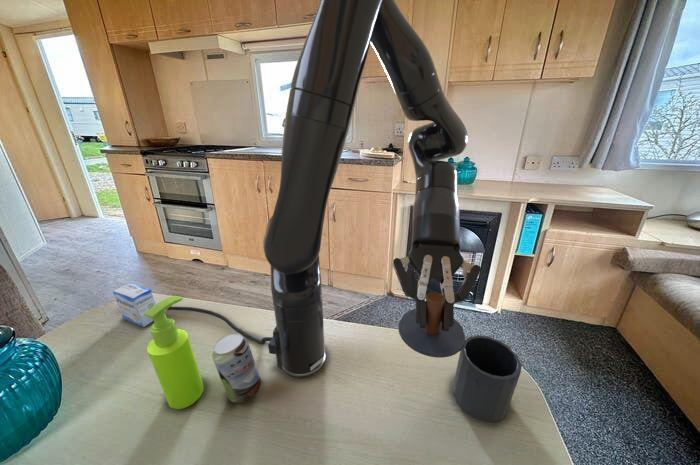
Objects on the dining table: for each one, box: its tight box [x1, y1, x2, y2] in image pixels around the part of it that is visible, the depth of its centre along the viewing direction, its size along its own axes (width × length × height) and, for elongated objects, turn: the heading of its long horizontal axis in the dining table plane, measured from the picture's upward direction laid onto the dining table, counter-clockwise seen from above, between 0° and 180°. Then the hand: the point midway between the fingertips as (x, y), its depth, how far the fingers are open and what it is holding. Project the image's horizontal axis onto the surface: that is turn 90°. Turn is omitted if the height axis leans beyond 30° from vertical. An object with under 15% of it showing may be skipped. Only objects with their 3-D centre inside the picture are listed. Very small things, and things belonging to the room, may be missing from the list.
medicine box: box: [112, 282, 157, 328], centre depth 69 cm, size 8×4×9 cm, turn 68°
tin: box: [452, 334, 523, 423], centre depth 49 cm, size 9×9×10 cm
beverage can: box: [211, 332, 262, 404], centre depth 50 cm, size 6×7×12 cm
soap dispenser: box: [144, 295, 205, 410], centre depth 48 cm, size 6×7×20 cm
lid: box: [397, 291, 466, 359], centre depth 42 cm, size 10×10×7 cm
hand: (434, 328), depth 40 cm, fingers closed on lid, 2 cm apart
